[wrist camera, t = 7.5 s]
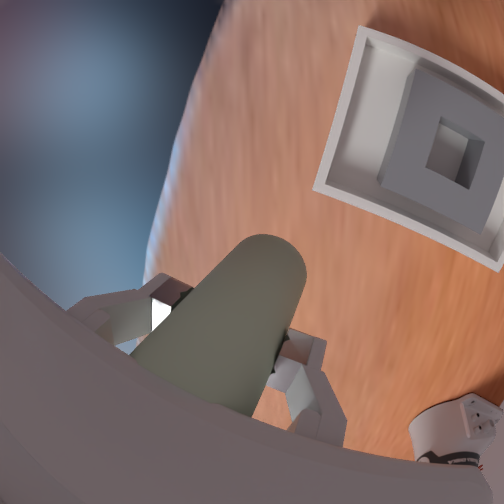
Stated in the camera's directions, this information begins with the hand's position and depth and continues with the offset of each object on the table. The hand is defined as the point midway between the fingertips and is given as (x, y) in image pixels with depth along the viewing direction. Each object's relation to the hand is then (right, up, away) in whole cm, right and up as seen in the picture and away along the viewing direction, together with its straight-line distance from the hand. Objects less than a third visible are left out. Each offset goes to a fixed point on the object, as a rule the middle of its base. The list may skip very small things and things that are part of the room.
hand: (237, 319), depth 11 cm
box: (+21, +14, +13) cm, 28 cm away
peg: (+1, +2, +4) cm, 4 cm away
